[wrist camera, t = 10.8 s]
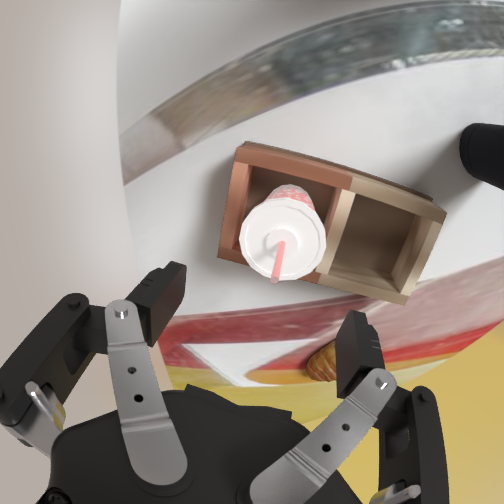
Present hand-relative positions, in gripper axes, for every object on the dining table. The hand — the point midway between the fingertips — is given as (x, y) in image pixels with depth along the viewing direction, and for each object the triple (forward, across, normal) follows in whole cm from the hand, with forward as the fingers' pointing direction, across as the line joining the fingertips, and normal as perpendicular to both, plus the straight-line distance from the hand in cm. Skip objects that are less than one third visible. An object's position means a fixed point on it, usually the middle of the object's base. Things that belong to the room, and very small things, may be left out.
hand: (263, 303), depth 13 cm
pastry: (+18, -13, +18) cm, 29 cm away
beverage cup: (+16, 0, 0) cm, 16 cm away
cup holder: (+17, -5, 0) cm, 18 cm away
